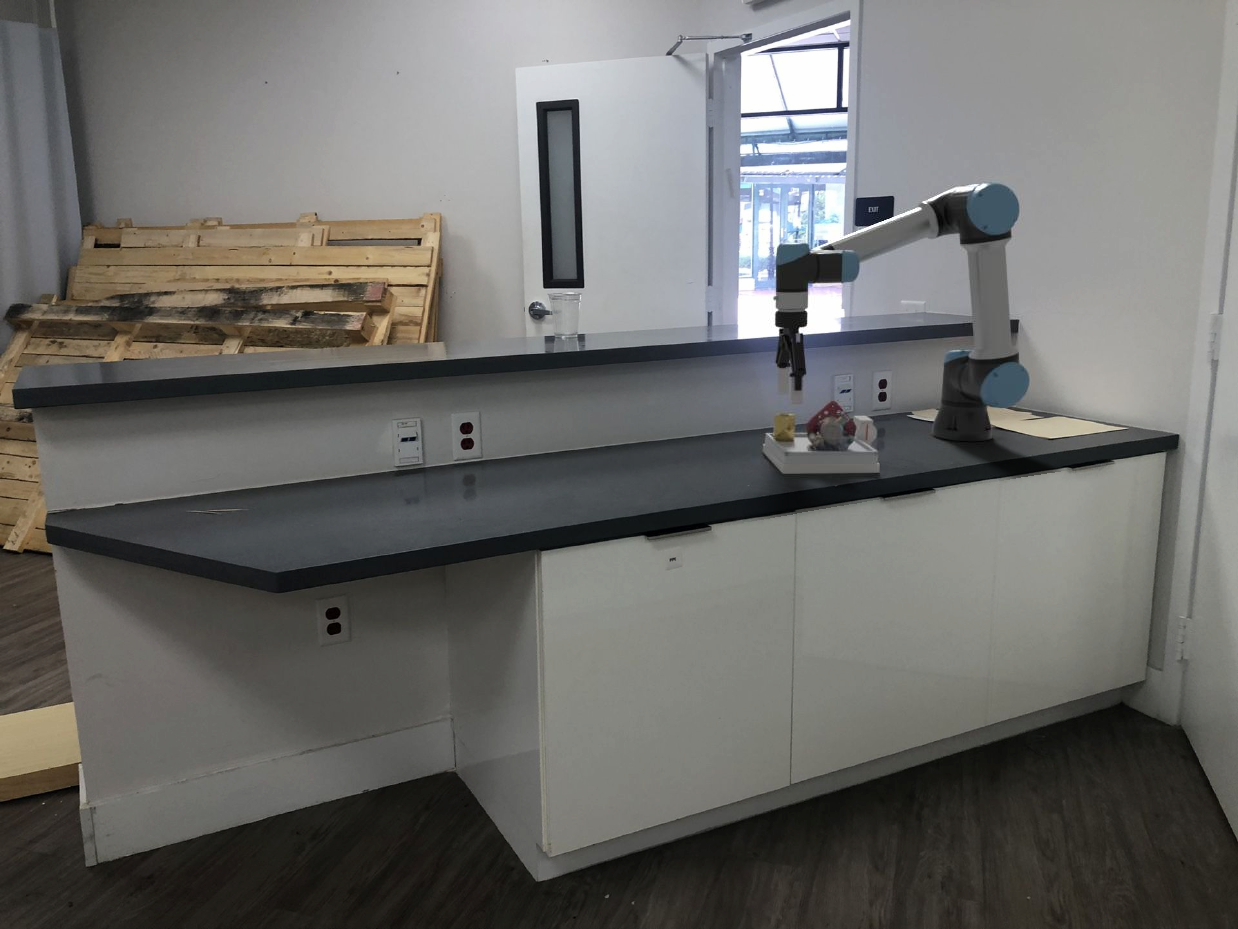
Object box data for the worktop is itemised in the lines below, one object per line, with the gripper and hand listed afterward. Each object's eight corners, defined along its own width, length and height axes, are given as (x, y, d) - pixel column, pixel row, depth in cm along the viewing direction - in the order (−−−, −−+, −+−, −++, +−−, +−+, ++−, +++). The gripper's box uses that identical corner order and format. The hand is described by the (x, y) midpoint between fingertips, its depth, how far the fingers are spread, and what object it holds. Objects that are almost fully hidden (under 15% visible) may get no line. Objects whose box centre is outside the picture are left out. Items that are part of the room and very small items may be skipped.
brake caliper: (853, 432, 229) (858, 398, 219) (854, 468, 222) (859, 434, 213) (805, 431, 231) (807, 396, 221) (804, 466, 224) (807, 432, 215)
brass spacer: (771, 437, 235) (772, 413, 234) (791, 437, 235) (792, 412, 234) (775, 441, 230) (776, 416, 229) (796, 441, 230) (797, 416, 229)
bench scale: (866, 451, 239) (868, 415, 237) (896, 472, 218) (899, 433, 216) (762, 451, 238) (764, 415, 236) (782, 473, 216) (784, 434, 214)
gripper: (764, 306, 239) (763, 391, 244) (788, 315, 215) (786, 408, 220) (794, 305, 240) (792, 390, 245) (821, 314, 216) (818, 407, 221)
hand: (789, 399), depth 233 cm, fingers open, 13 cm apart
